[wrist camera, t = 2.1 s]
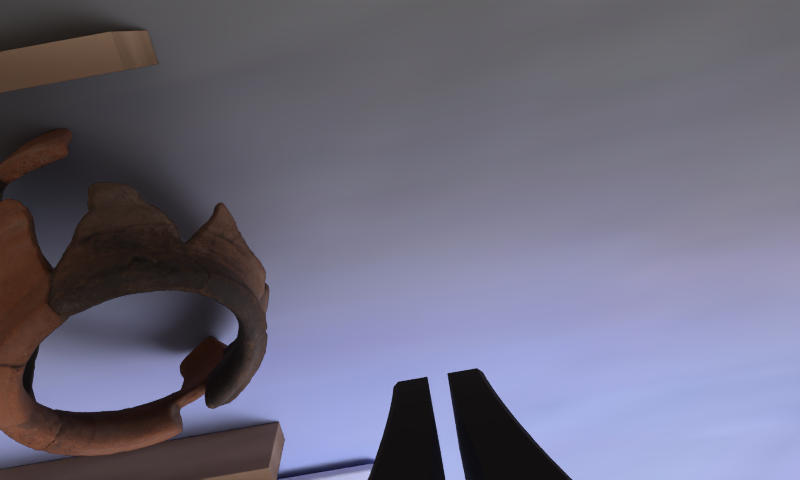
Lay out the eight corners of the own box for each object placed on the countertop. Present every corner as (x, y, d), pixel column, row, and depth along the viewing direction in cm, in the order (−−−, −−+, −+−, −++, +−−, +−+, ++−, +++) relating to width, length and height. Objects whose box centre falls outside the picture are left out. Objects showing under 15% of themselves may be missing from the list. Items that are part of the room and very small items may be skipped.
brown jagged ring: (115, 49, 17) (160, 170, 11) (271, 222, 24) (345, 348, 18) (-215, 269, 16) (-343, 519, 10) (49, 381, 23) (56, 565, 17)
